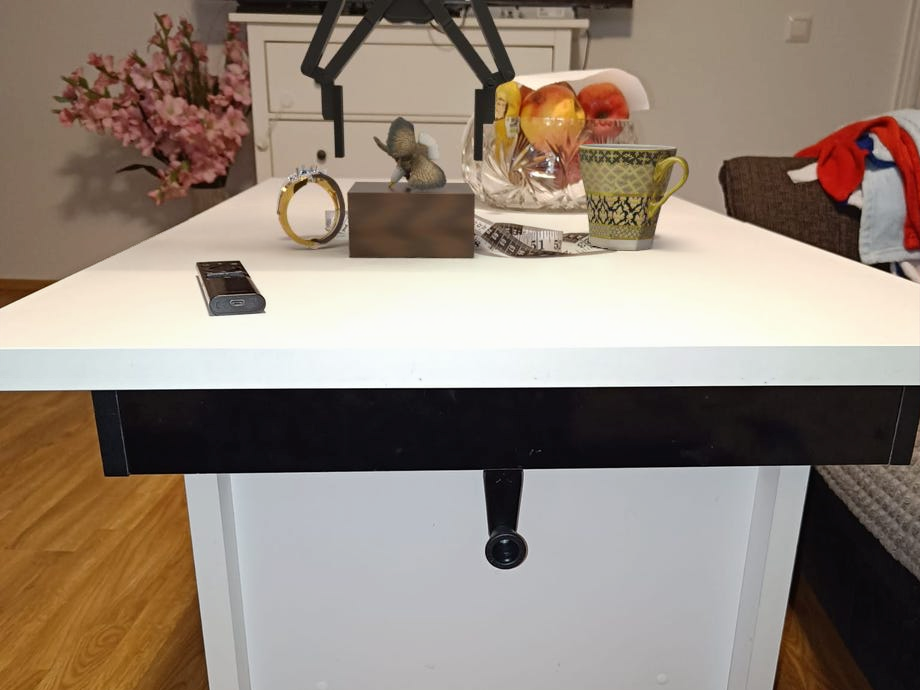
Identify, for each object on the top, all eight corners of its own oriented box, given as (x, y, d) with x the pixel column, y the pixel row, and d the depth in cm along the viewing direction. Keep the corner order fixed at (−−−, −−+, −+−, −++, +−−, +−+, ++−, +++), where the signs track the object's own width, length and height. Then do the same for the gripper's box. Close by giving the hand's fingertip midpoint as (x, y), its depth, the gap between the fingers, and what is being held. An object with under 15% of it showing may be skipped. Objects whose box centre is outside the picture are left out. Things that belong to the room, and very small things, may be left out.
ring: (340, 244, 97) (336, 163, 94) (351, 248, 94) (348, 165, 91) (275, 248, 94) (269, 164, 91) (285, 252, 91) (279, 166, 88)
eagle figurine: (354, 171, 95) (368, 160, 86) (388, 110, 95) (406, 92, 86) (417, 213, 97) (437, 205, 89) (450, 153, 97) (474, 139, 89)
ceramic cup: (554, 243, 100) (558, 144, 96) (617, 236, 105) (624, 143, 102) (647, 260, 90) (655, 151, 87) (710, 251, 96) (721, 149, 93)
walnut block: (349, 257, 89) (347, 192, 87) (357, 239, 100) (355, 181, 98) (474, 257, 90) (474, 193, 88) (468, 240, 101) (468, 182, 99)
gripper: (261, -104, 79) (276, 158, 87) (550, -93, 81) (539, 163, 89) (274, -88, 86) (286, 154, 94) (540, -78, 88) (530, 159, 96)
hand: (409, 159), depth 92 cm, fingers open, 13 cm apart
